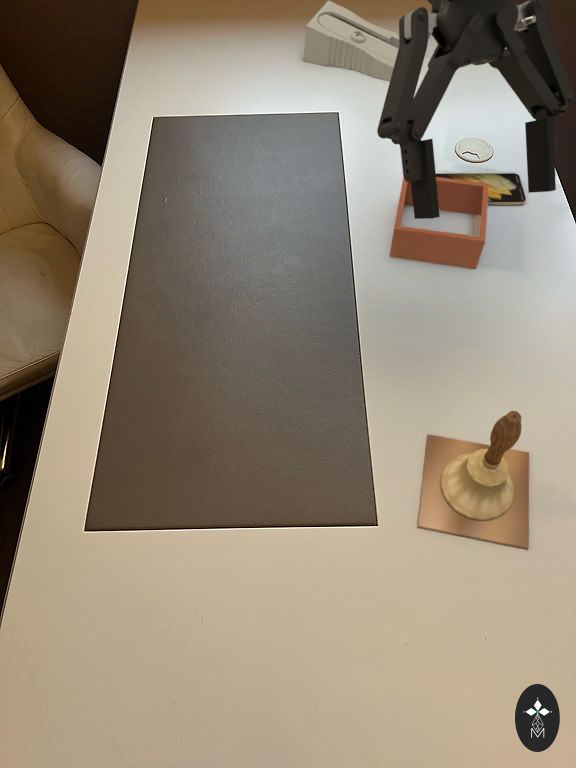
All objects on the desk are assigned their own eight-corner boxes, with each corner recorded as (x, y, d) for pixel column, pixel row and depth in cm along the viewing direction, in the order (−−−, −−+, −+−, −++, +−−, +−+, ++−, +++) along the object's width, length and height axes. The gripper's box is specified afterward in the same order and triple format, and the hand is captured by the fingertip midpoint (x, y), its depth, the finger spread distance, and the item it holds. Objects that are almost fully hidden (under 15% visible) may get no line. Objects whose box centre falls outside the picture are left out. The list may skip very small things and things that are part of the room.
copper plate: (528, 453, 75) (529, 452, 74) (527, 549, 68) (528, 548, 68) (427, 435, 76) (427, 433, 76) (417, 527, 70) (417, 526, 69)
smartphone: (427, 173, 103) (518, 172, 103) (426, 176, 104) (517, 176, 103) (431, 201, 99) (526, 201, 99) (430, 205, 100) (525, 205, 99)
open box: (480, 212, 99) (488, 183, 94) (476, 269, 92) (485, 241, 87) (399, 201, 100) (404, 172, 96) (389, 256, 93) (394, 228, 89)
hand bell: (497, 534, 69) (545, 469, 55) (428, 497, 71) (458, 427, 58) (523, 475, 73) (574, 401, 59) (457, 443, 75) (491, 365, 62)
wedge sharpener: (324, 35, 130) (325, -1, 124) (416, 55, 125) (421, 19, 120) (302, 60, 125) (303, 24, 119) (398, 83, 120) (403, 46, 114)
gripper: (547, -49, 59) (555, 183, 66) (315, -36, 50) (351, 230, 57) (616, -83, 52) (617, 179, 59) (362, -75, 44) (397, 230, 51)
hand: (486, 204), depth 58 cm, fingers open, 13 cm apart
